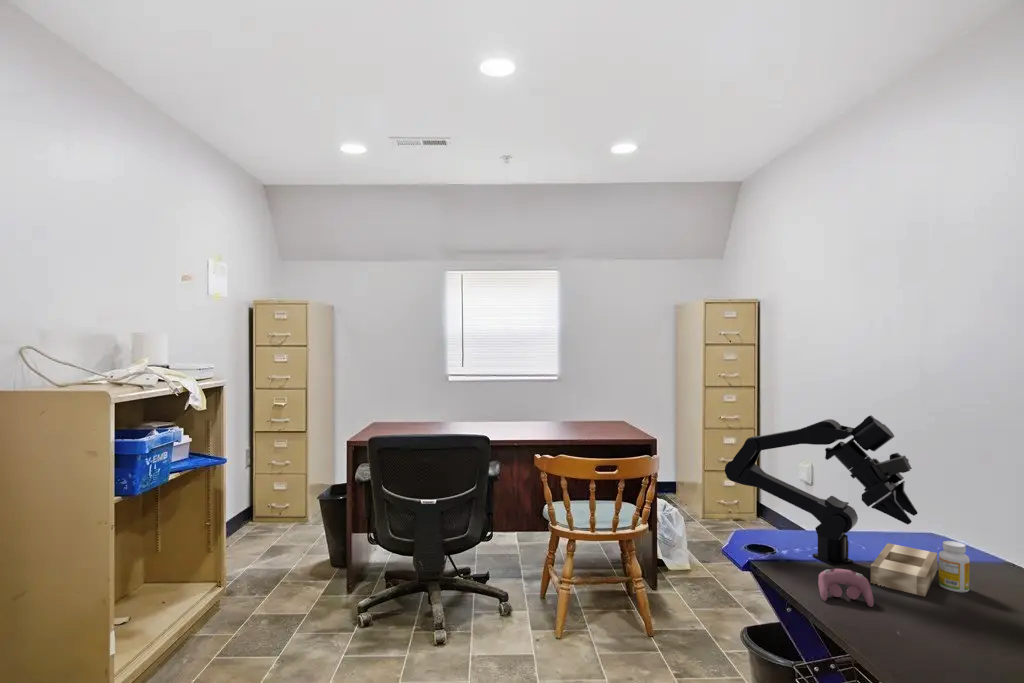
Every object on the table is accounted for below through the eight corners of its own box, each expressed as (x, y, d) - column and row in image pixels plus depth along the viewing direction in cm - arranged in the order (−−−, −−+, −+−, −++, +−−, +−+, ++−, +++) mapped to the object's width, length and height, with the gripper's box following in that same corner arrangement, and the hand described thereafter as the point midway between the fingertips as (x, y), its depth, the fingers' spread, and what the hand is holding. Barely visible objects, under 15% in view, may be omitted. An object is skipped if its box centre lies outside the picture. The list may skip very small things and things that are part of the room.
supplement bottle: (958, 583, 131) (959, 540, 131) (975, 593, 125) (975, 548, 125) (933, 582, 131) (933, 539, 131) (948, 592, 126) (949, 547, 126)
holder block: (870, 583, 130) (870, 565, 130) (887, 559, 145) (887, 543, 145) (925, 596, 123) (925, 577, 123) (937, 569, 138) (937, 553, 138)
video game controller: (870, 609, 121) (867, 573, 124) (876, 607, 117) (872, 570, 120) (817, 601, 124) (815, 567, 127) (821, 600, 120) (818, 564, 123)
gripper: (879, 447, 130) (939, 507, 122) (893, 438, 144) (948, 491, 136) (838, 477, 135) (894, 535, 128) (856, 465, 149) (907, 517, 142)
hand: (913, 518), depth 133 cm, fingers open, 9 cm apart
